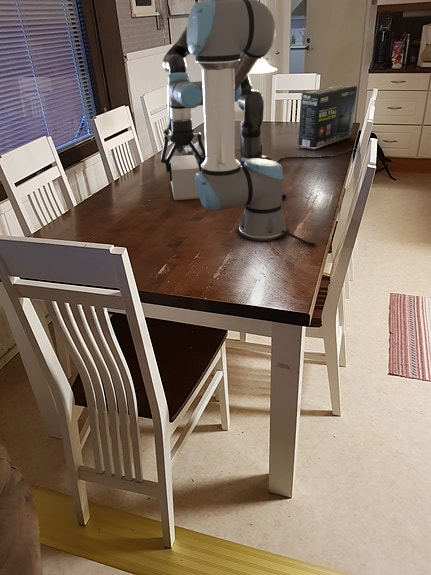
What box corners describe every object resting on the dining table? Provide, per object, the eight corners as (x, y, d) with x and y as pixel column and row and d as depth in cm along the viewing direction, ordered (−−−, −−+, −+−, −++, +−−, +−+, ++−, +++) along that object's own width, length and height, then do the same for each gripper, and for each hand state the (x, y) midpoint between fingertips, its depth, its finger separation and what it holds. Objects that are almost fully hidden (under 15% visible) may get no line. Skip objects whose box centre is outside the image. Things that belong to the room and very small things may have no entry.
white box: (171, 184, 195) (168, 156, 189) (195, 182, 196) (194, 154, 190) (174, 200, 178) (171, 170, 172) (201, 198, 179) (199, 168, 173)
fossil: (208, 150, 224) (188, 131, 227) (198, 168, 231) (178, 149, 234) (228, 148, 238) (208, 130, 241) (217, 165, 244) (198, 147, 248)
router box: (314, 151, 231) (318, 94, 217) (296, 148, 237) (299, 92, 224) (352, 138, 251) (358, 85, 238) (335, 135, 258) (340, 83, 245)
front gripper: (211, 115, 171) (213, 173, 183) (149, 119, 169) (155, 178, 180) (214, 119, 165) (216, 179, 176) (149, 123, 162) (156, 184, 174)
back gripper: (192, 106, 189) (194, 149, 198) (160, 108, 187) (163, 151, 196) (194, 109, 182) (196, 153, 191) (161, 111, 181) (164, 155, 190)
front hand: (185, 178), depth 178 cm, fingers closed on white box, 10 cm apart
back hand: (179, 152), depth 194 cm, fingers closed
